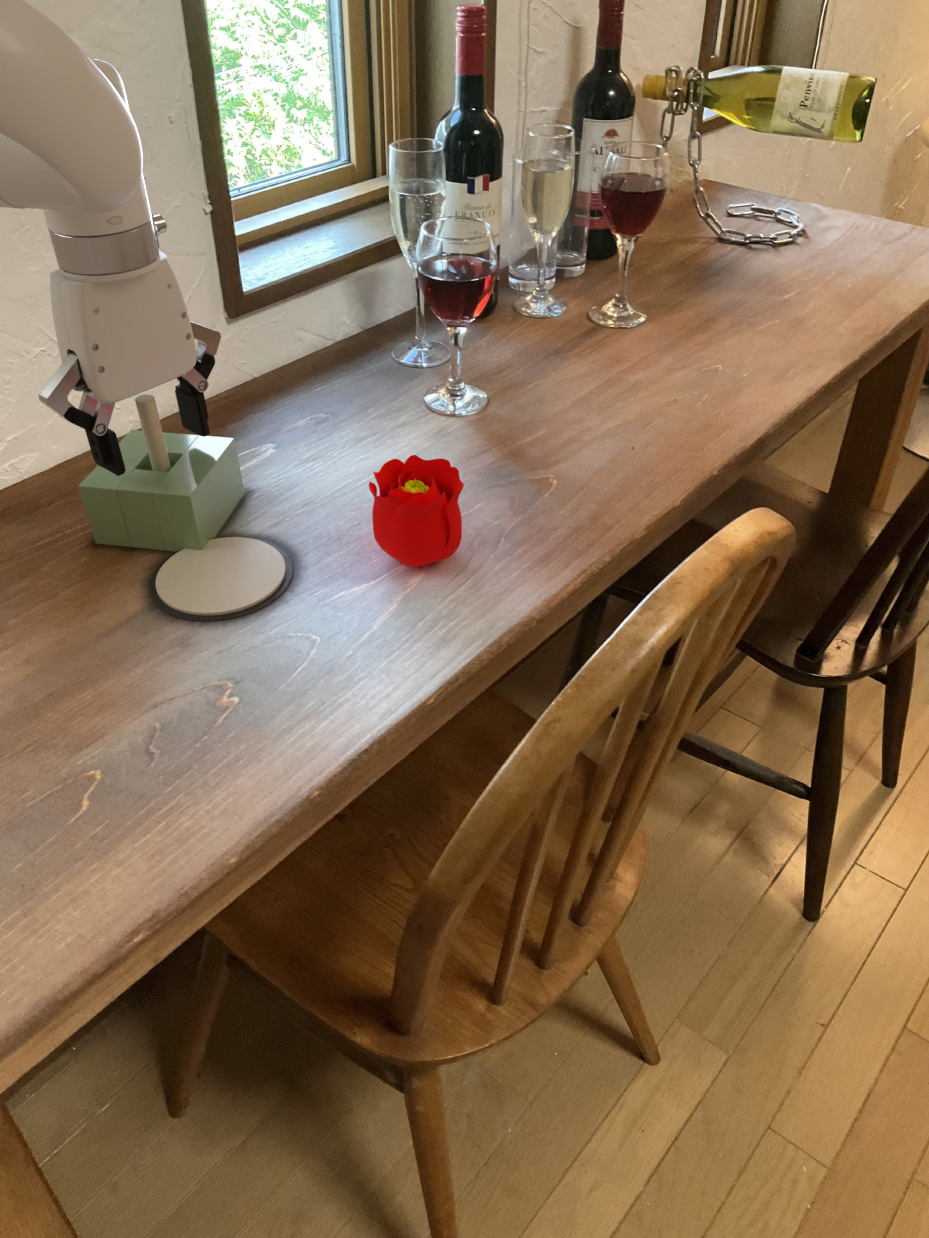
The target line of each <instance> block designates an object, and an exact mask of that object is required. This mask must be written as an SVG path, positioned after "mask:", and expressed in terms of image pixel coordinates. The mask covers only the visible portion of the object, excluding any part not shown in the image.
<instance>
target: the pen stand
mask: <svg viewBox="0 0 929 1238" xmlns="http://www.w3.org/2000/svg"><path fill="white" fill-rule="evenodd" d="M162 432H163V436H164V440H165V444H166V448H167V453H168V457H169V461H170V465H171V470H170V471H169V472H162V471H153V470H152V466H151V462H150V458H149V454H148V450H147V446H146V442H145V438H144V434H143V430H139V429H138V430H137V429H131V430H129V432H128V433H127V434H126V435H125V436H124V437H123V438H122V439H121V440H120V441H118V443H119V447H120V450H121V454H122V458H123V462H124V465H125V469H126V471H125V473H124V474H122V475H120V476H117V475H115V474H114V473H112V472H110V471H108V470H107V469H105V468H103V467H101V466H99V465H98V464H97V465H96V466H95V468H93V469H92V471H91V472H89V474H87V476H86V477H85V478H84V479H83V480H82V481H81V482H80V483H79V484H78V485H77V487H78V491H79V494H80V497H81V501H82V504H83V507H84V510H85V513H86V516H87V519H88V523H89V526H90V529H91V532H92V533H91V534H92V535H93V539H94V542H95V544H98V545H107V546H117V547H119V546H120V547H127V548H137V549H138V548H139V549H148V550H157V551H168V552H174V553H175V552H176V551H181V550H183V549H195V550H203V548H204V547H205V545H206V544H207V543H208V541H209V540H211V539H213V538H216V537H217V535H218V533H219V532H220V531H221V529H222V528H223V526H224V525H225V523H226V522H227V520H228V519H229V517H230V516H231V515H232V513H233V512H234V510H235V509H236V507H237V506H238V504H239V503H240V501H241V500H242V499H243V498H244V495H245V493H246V492H245V487H244V482H243V478H242V471H241V466H240V461H239V455H238V451H237V445H236V444H237V443H236V439H235V438H234V437H225V436H215V435H214V436H213V435H207V436H205V437H203V436H200V435H198V434H188V433H177V432H176V433H174V432H164V431H162Z"/></svg>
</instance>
